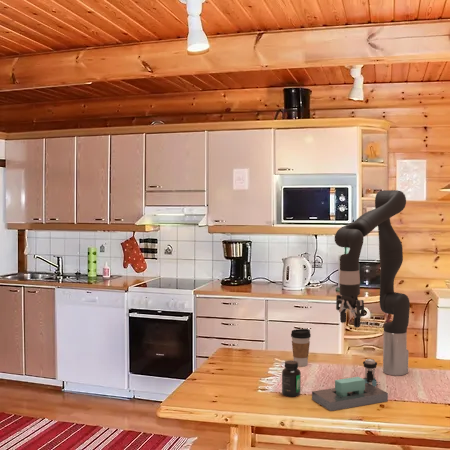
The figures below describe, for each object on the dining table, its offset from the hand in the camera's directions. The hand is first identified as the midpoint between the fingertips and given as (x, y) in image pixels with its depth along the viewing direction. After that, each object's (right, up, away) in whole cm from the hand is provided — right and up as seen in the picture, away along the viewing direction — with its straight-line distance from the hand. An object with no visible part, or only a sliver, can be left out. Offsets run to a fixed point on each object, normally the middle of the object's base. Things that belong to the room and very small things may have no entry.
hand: (350, 324), depth 219 cm
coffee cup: (-14, -23, +34) cm, 43 cm away
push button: (+9, -25, +6) cm, 27 cm away
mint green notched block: (-2, -25, -10) cm, 27 cm away
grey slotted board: (-2, -25, -10) cm, 27 cm away
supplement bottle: (-23, -25, -3) cm, 34 cm away
